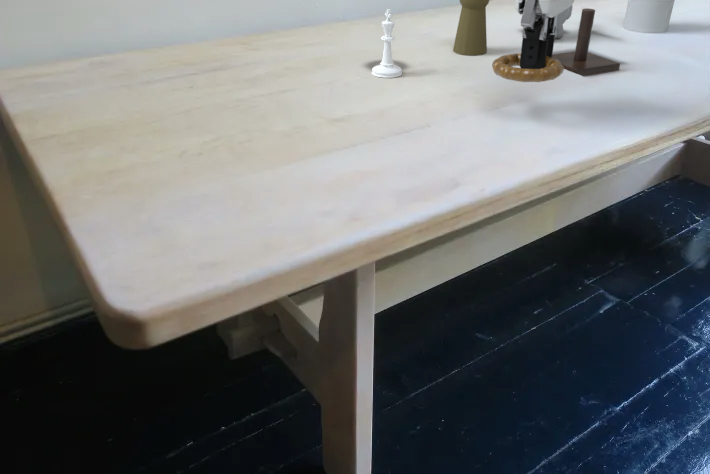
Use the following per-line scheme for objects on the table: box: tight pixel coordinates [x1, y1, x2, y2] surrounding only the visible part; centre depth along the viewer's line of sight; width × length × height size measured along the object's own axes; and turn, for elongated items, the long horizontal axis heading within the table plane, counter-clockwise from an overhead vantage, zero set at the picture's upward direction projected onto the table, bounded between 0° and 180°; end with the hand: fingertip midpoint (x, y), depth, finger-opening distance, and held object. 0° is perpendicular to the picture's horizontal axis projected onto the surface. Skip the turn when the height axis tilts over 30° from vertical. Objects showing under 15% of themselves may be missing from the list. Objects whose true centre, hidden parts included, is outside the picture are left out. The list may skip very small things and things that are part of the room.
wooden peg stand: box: [552, 7, 621, 77], centre depth 109 cm, size 9×9×9 cm
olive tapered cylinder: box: [452, 0, 490, 56], centre depth 116 cm, size 6×6×11 cm
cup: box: [622, 0, 675, 35], centre depth 127 cm, size 8×8×12 cm
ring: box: [491, 53, 565, 83], centre depth 86 cm, size 9×9×2 cm
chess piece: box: [371, 8, 403, 79], centre depth 105 cm, size 5×5×10 cm
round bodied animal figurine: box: [551, 4, 574, 39], centre depth 127 cm, size 7×12×8 cm, turn 135°
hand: (535, 65), depth 88 cm, fingers closed on ring, 2 cm apart
